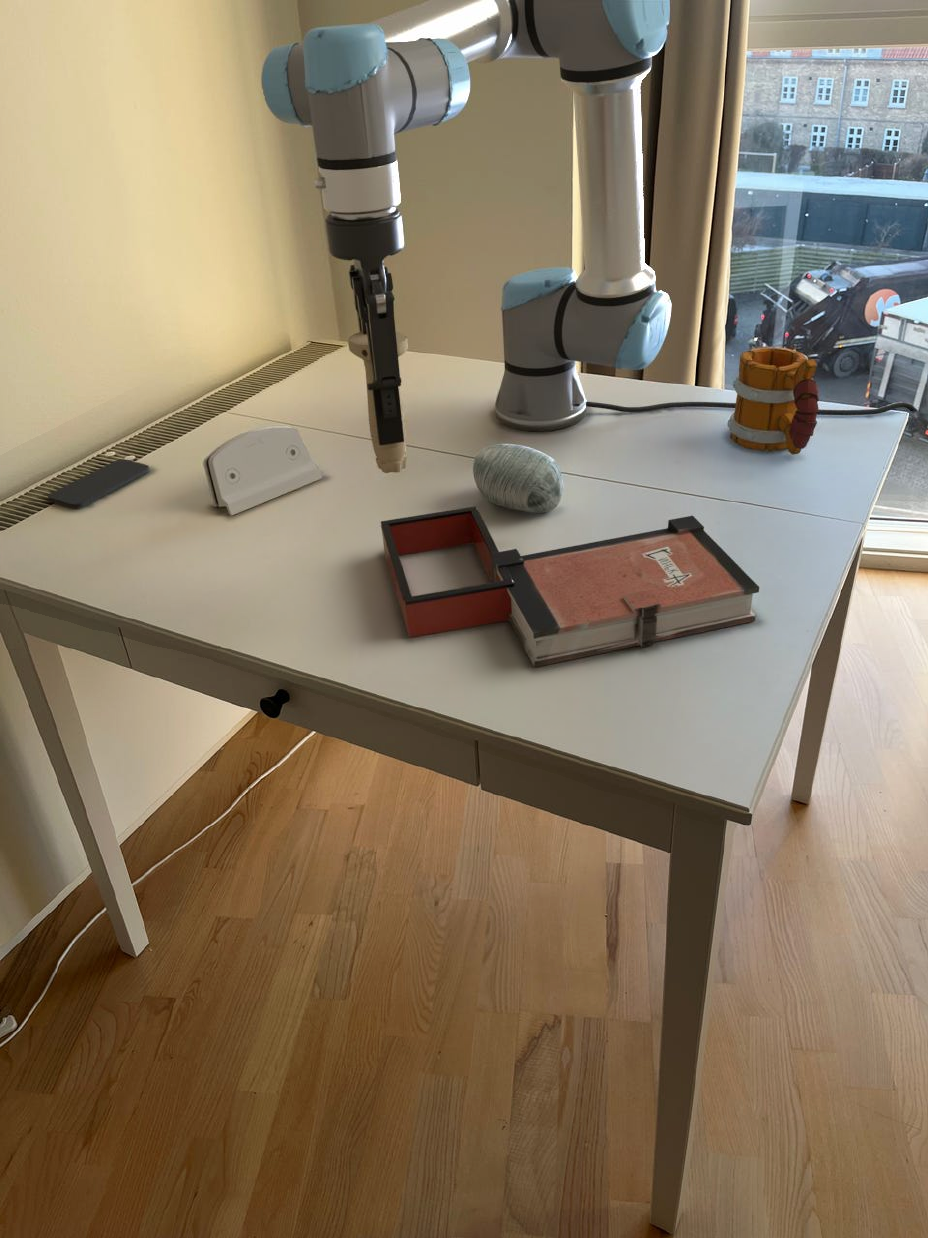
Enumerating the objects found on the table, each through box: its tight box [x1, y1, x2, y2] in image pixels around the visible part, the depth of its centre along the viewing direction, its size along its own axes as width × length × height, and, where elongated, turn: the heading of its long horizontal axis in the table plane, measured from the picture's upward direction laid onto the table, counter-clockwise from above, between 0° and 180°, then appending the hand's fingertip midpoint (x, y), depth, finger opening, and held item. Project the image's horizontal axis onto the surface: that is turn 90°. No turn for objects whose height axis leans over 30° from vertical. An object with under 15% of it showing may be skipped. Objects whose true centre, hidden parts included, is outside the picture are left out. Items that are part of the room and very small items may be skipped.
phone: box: [47, 458, 151, 509], centre depth 149 cm, size 7×1×15 cm
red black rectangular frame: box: [380, 505, 514, 638], centre depth 117 cm, size 13×20×5 cm, turn 12°
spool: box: [472, 443, 564, 514], centre depth 133 cm, size 14×10×10 cm
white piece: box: [202, 426, 323, 516], centre depth 142 cm, size 17×5×10 cm, turn 132°
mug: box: [726, 346, 820, 455], centre depth 142 cm, size 11×16×15 cm, turn 18°
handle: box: [347, 331, 409, 474], centre depth 105 cm, size 5×6×15 cm
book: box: [490, 515, 760, 668], centre depth 111 cm, size 26×18×5 cm
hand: (388, 433), depth 106 cm, fingers closed on handle, 4 cm apart
